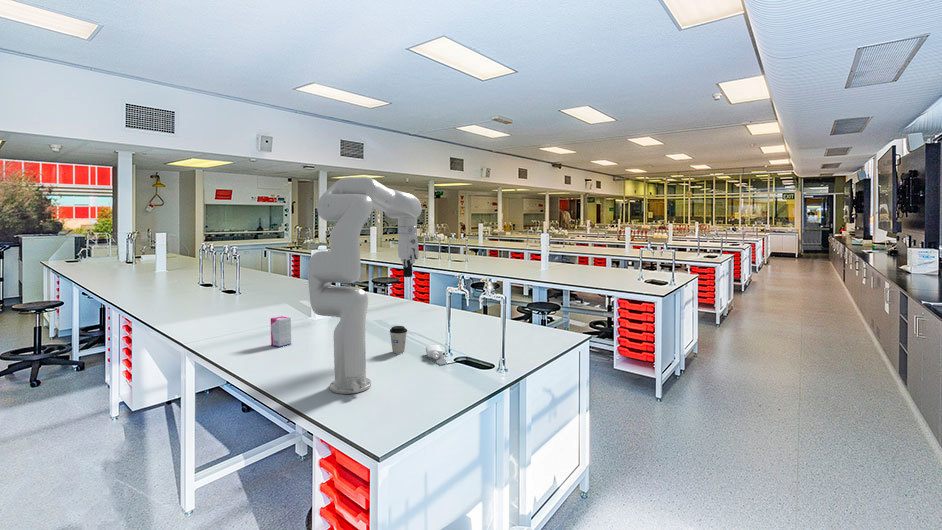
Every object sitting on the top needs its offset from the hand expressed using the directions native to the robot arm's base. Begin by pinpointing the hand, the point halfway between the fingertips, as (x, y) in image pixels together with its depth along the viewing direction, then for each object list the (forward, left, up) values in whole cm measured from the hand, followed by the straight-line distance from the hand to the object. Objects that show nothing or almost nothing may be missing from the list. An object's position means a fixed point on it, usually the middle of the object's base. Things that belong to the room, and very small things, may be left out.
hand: (407, 276), depth 184 cm
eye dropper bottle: (-12, -5, -27) cm, 30 cm away
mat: (-21, -5, -29) cm, 36 cm away
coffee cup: (-4, +6, -29) cm, 30 cm away
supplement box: (+30, +43, -29) cm, 60 cm away
